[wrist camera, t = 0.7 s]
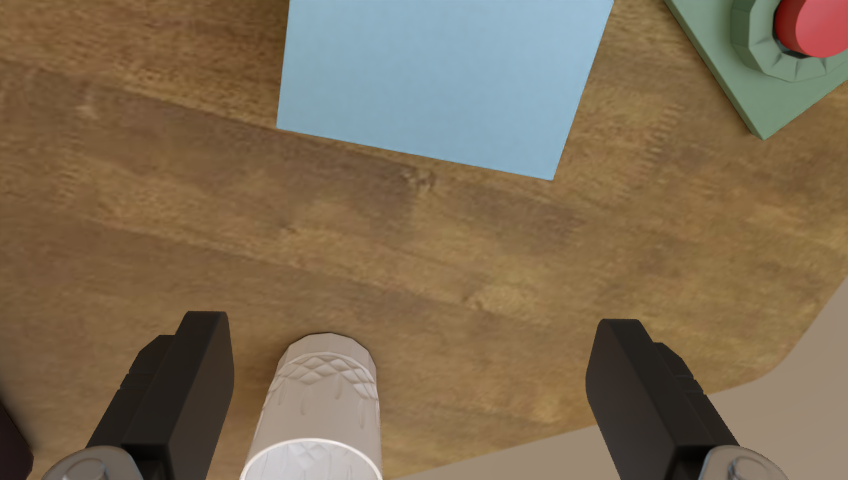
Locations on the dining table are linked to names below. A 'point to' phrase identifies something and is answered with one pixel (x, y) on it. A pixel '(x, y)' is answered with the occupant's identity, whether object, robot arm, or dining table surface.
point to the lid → (442, 76)
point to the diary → (13, 451)
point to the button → (813, 26)
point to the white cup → (319, 415)
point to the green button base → (757, 61)
